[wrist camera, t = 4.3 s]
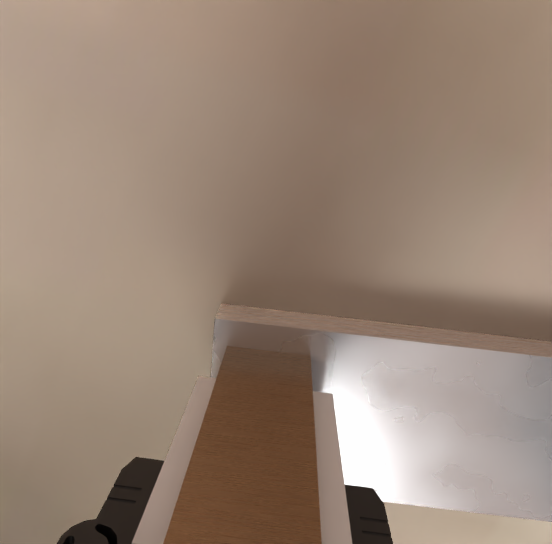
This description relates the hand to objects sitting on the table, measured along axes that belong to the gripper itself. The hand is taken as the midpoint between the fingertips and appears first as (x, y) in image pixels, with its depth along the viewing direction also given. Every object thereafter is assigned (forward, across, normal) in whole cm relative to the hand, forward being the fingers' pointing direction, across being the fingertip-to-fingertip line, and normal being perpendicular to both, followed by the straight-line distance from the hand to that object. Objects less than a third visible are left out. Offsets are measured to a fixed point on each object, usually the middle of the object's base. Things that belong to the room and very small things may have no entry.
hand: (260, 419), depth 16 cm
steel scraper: (+3, +7, 0) cm, 8 cm away
